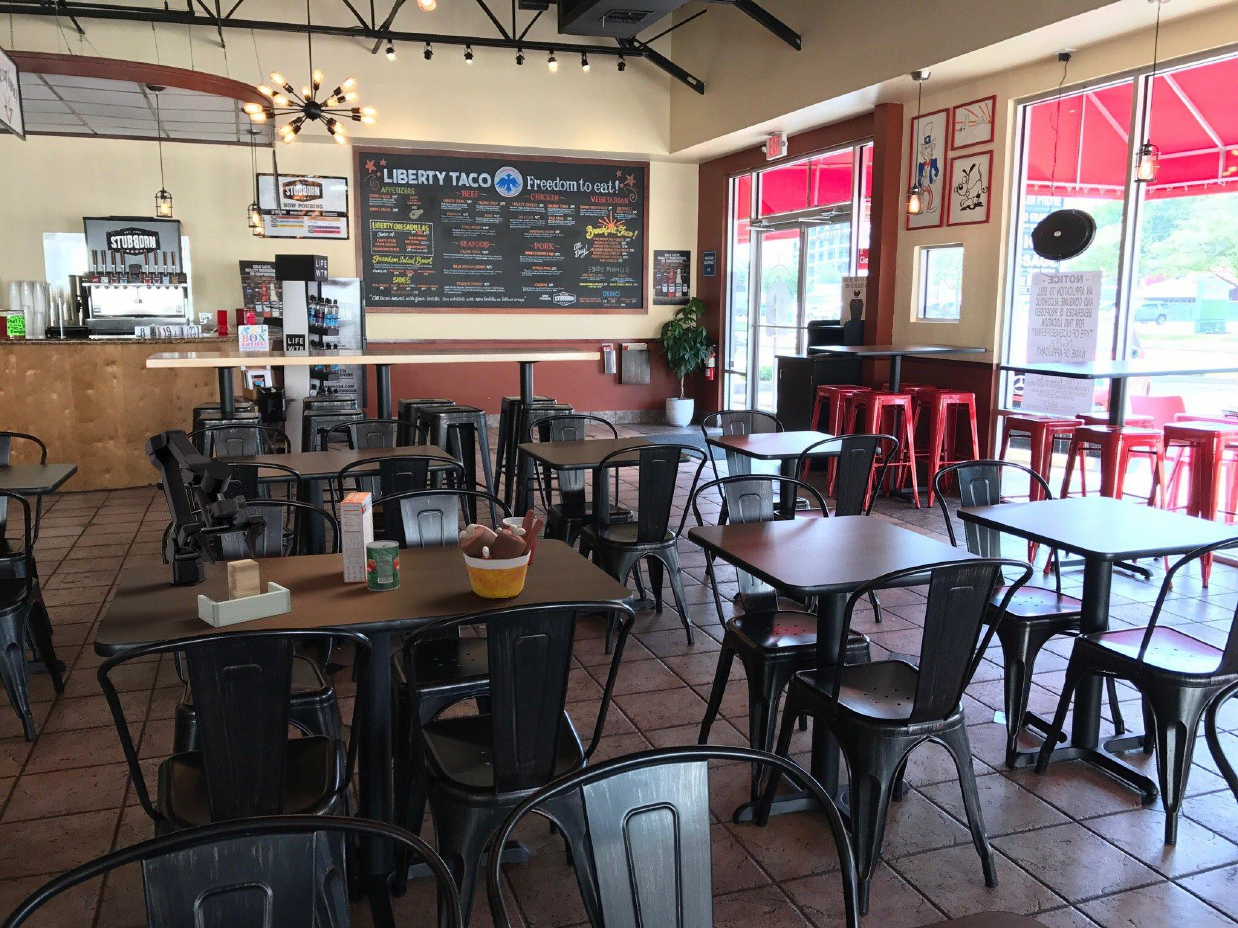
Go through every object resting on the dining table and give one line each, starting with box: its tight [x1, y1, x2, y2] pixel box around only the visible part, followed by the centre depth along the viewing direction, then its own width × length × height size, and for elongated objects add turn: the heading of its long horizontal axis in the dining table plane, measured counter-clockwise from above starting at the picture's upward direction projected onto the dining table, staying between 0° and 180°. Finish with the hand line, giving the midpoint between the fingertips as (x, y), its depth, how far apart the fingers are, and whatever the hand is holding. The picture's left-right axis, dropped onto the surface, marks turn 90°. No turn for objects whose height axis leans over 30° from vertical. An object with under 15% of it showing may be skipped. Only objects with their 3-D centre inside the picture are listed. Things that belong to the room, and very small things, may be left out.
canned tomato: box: [366, 540, 401, 592], centre depth 241 cm, size 8×8×11 cm
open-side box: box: [197, 581, 292, 628], centre depth 219 cm, size 10×17×5 cm, turn 133°
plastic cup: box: [502, 516, 538, 565], centre depth 265 cm, size 11×11×12 cm
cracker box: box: [339, 491, 374, 584], centre depth 250 cm, size 14×6×21 cm, turn 5°
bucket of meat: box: [458, 509, 545, 600], centre depth 236 cm, size 20×16×20 cm
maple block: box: [226, 558, 261, 601], centre depth 218 cm, size 5×5×12 cm
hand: (234, 560), depth 221 cm, fingers open, 9 cm apart
